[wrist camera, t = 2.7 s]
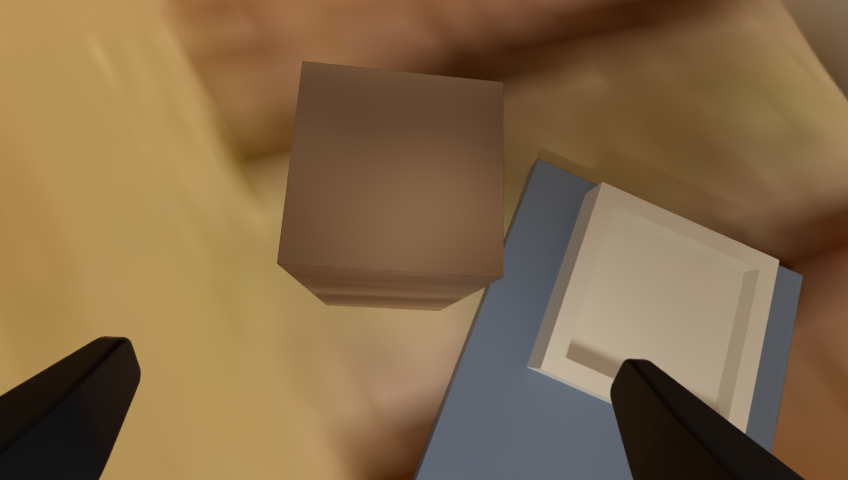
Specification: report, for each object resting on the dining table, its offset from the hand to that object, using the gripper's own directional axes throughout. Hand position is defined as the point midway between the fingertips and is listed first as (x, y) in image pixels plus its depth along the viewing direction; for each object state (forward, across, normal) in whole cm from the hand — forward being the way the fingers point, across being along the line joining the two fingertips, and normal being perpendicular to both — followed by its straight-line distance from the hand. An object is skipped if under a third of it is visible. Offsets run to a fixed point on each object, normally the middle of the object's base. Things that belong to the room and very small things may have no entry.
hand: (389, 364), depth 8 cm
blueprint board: (+5, -10, +10) cm, 15 cm away
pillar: (+11, 0, +5) cm, 12 cm away
